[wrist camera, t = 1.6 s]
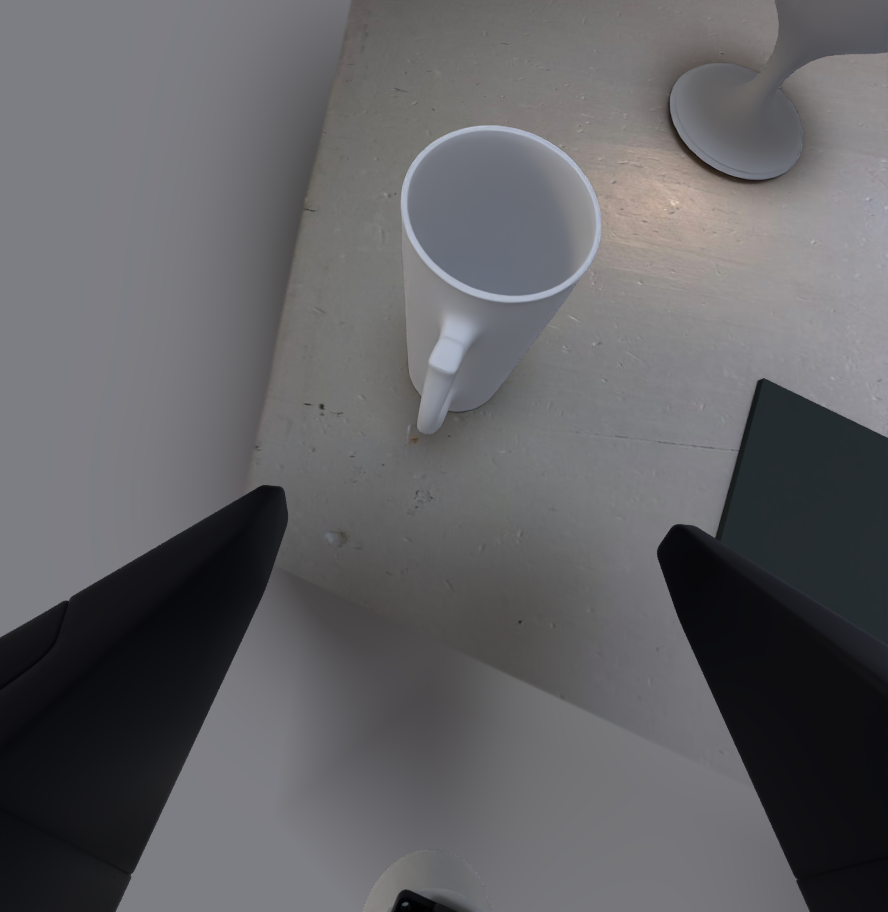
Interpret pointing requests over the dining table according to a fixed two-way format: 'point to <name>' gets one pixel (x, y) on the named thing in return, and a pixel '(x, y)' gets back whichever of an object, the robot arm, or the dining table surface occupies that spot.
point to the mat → (813, 505)
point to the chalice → (770, 87)
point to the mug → (487, 258)
